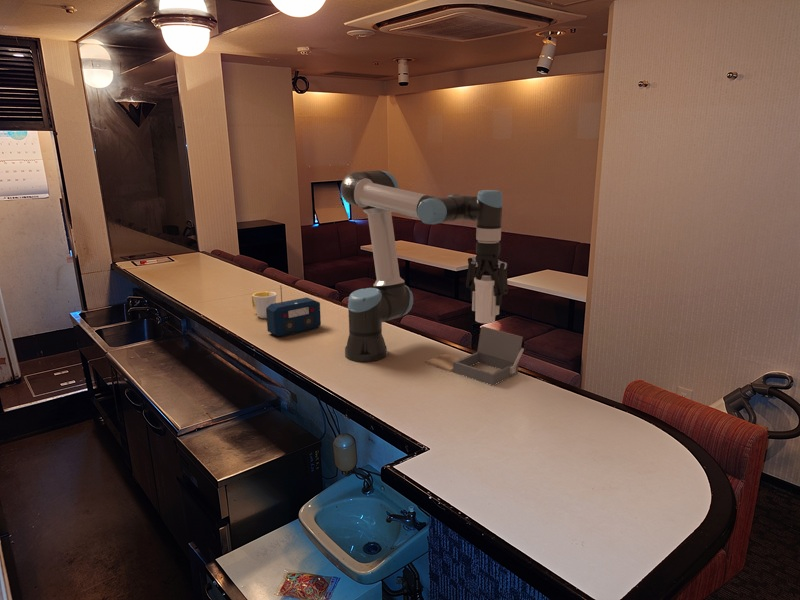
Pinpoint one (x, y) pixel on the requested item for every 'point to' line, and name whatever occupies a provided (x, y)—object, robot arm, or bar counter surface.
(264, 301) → the mug
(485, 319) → the cup
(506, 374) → the grey caddy tray
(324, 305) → the bar counter surface
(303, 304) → the radio
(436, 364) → the trivet
